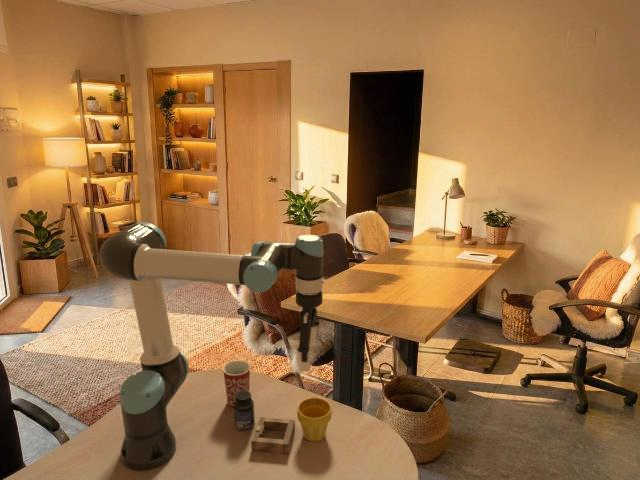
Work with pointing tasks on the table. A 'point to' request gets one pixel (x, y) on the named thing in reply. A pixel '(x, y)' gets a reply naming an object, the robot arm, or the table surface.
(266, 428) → the wooden tray
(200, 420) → the table surface
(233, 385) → the mug
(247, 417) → the pill bottle
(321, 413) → the plant pot
